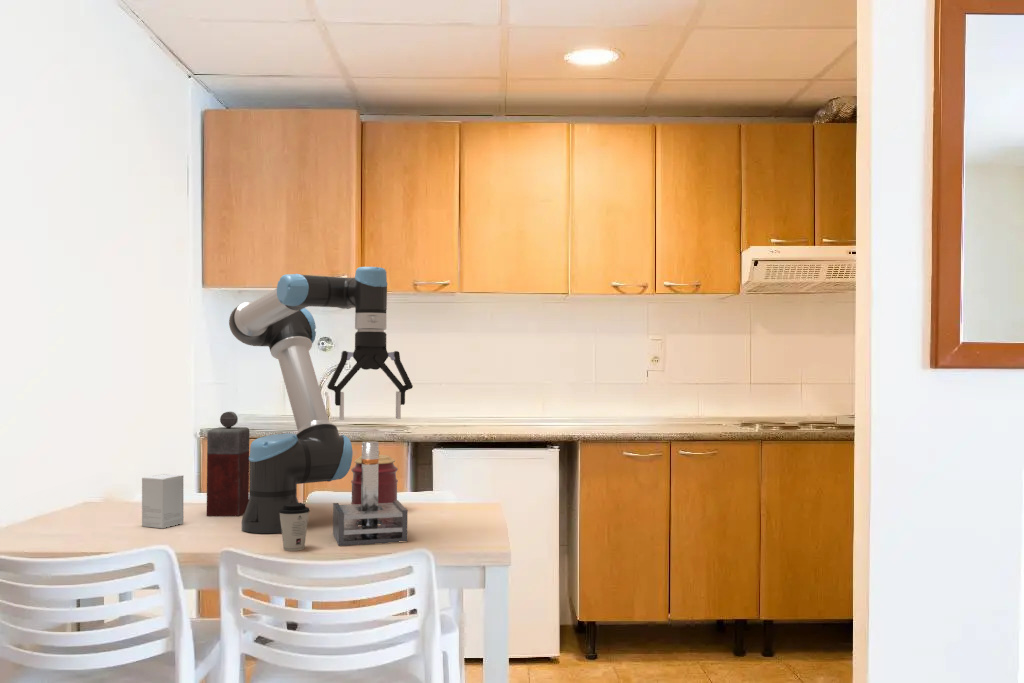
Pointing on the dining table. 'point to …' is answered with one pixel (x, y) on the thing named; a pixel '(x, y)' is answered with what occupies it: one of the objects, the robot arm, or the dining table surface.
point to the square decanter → (227, 468)
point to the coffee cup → (294, 525)
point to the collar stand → (389, 529)
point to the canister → (385, 480)
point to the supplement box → (162, 500)
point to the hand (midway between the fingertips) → (370, 419)
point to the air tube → (369, 481)
